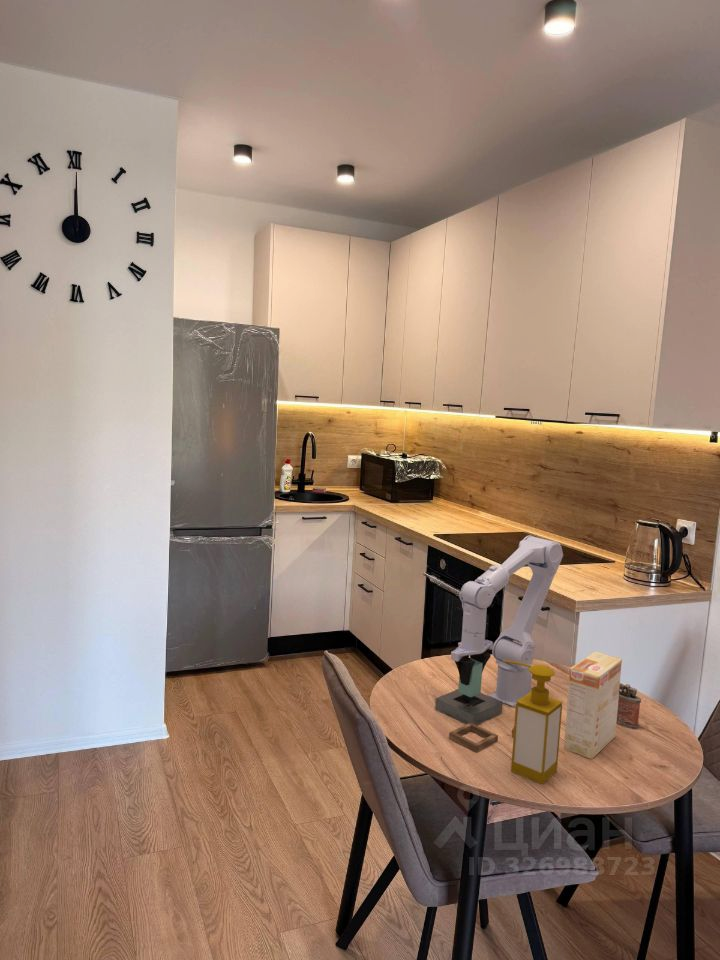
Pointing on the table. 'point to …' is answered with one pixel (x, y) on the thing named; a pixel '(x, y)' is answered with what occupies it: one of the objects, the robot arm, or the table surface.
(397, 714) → the table surface
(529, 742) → the soap bottle
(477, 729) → the stand frame
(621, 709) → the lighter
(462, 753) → the table surface
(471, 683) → the teal peg
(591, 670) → the coffeecake box
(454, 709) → the socket block
